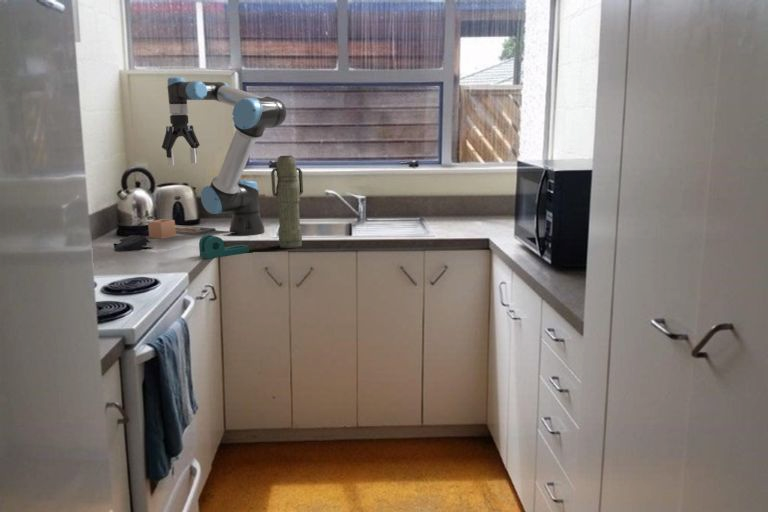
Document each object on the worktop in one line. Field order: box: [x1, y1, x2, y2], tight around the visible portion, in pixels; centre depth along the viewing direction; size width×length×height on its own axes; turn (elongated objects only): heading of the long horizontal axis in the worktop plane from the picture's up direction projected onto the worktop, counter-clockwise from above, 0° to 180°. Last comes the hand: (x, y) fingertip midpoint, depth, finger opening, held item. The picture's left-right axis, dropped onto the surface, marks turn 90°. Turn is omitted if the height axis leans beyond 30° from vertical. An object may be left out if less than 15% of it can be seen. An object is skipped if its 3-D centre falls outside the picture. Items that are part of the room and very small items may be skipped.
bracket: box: [198, 234, 250, 260], centre depth 257 cm, size 18×7×8 cm, turn 129°
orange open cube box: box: [147, 218, 177, 239], centre depth 290 cm, size 8×8×8 cm
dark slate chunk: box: [113, 234, 153, 253], centre depth 278 cm, size 15×22×5 cm
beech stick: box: [175, 226, 201, 232], centre depth 304 cm, size 10×2×17 cm
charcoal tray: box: [175, 224, 216, 236], centre depth 304 cm, size 26×12×2 cm, turn 60°
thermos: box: [270, 155, 304, 249], centre depth 267 cm, size 9×12×35 cm
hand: (182, 164), depth 302 cm, fingers open, 13 cm apart
